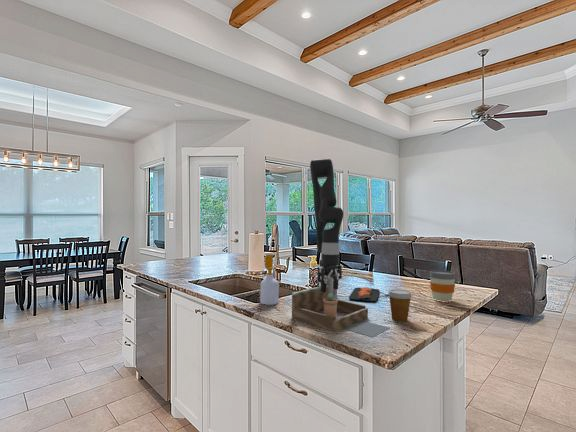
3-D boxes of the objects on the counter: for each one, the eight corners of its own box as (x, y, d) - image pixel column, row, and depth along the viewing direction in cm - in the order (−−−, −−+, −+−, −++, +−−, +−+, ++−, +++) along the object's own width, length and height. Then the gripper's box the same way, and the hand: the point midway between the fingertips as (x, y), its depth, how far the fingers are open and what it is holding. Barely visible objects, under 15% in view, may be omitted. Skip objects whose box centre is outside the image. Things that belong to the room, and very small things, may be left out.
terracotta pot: (328, 314, 142) (328, 291, 142) (340, 318, 137) (340, 293, 137) (319, 318, 137) (319, 293, 137) (331, 321, 133) (332, 296, 133)
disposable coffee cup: (406, 316, 141) (406, 289, 141) (415, 323, 132) (415, 294, 132) (384, 316, 141) (385, 288, 141) (392, 323, 132) (392, 294, 132)
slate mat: (363, 321, 134) (363, 320, 134) (390, 328, 126) (390, 327, 126) (344, 329, 124) (344, 328, 124) (372, 337, 116) (372, 336, 116)
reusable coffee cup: (457, 304, 162) (457, 275, 162) (430, 302, 166) (430, 273, 166) (453, 298, 174) (453, 271, 174) (428, 296, 178) (428, 269, 178)
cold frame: (325, 307, 154) (326, 284, 154) (367, 317, 138) (368, 292, 138) (291, 318, 136) (291, 293, 136) (335, 331, 121) (335, 303, 121)
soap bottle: (262, 305, 155) (263, 255, 155) (258, 301, 164) (259, 253, 164) (280, 304, 157) (280, 254, 157) (275, 300, 166) (276, 252, 166)
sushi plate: (355, 290, 194) (355, 283, 194) (407, 294, 184) (407, 288, 184) (347, 301, 167) (347, 294, 167) (409, 308, 157) (409, 300, 157)
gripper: (333, 251, 145) (332, 287, 145) (313, 253, 135) (312, 291, 134) (347, 252, 140) (346, 289, 140) (327, 254, 130) (326, 294, 129)
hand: (329, 290), depth 137 cm, fingers open, 8 cm apart
